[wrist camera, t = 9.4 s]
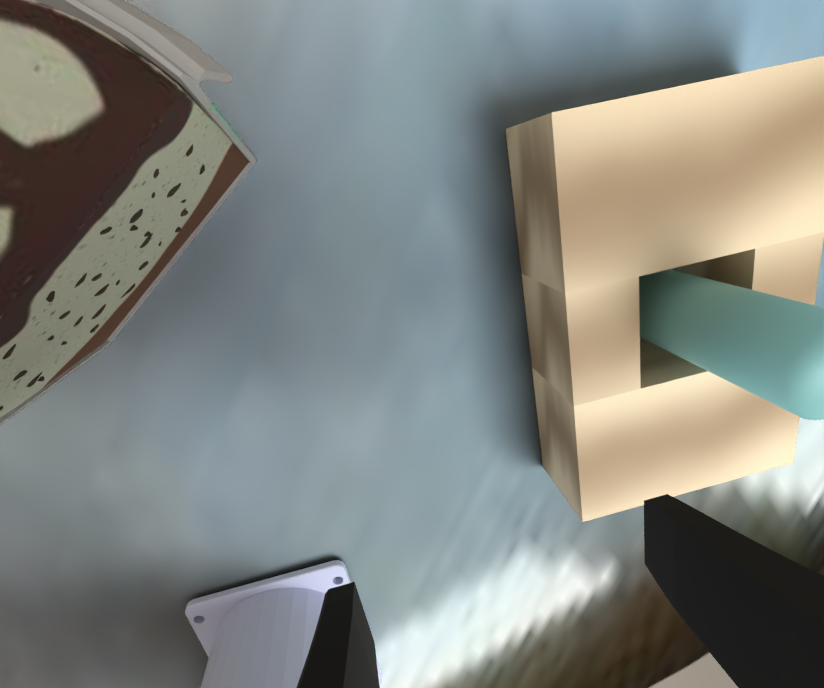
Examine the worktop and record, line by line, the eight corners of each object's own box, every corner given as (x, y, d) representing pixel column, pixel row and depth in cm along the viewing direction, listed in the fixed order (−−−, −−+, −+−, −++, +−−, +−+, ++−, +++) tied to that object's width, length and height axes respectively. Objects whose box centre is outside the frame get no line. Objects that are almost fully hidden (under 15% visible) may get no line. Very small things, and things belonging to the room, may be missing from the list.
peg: (660, 317, 21) (875, 405, 13) (601, 332, 21) (778, 431, 12) (661, 255, 20) (895, 305, 12) (598, 270, 20) (790, 331, 11)
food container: (124, -23, 14) (-310, -446, 5) (283, 127, 16) (204, 45, 7) (-79, 269, 16) (-685, 386, 6) (88, 371, 18) (-190, 573, 8)
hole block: (721, 419, 24) (793, 462, 20) (542, 467, 23) (582, 522, 19) (742, 79, 18) (848, 50, 14) (505, 128, 17) (551, 112, 13)
